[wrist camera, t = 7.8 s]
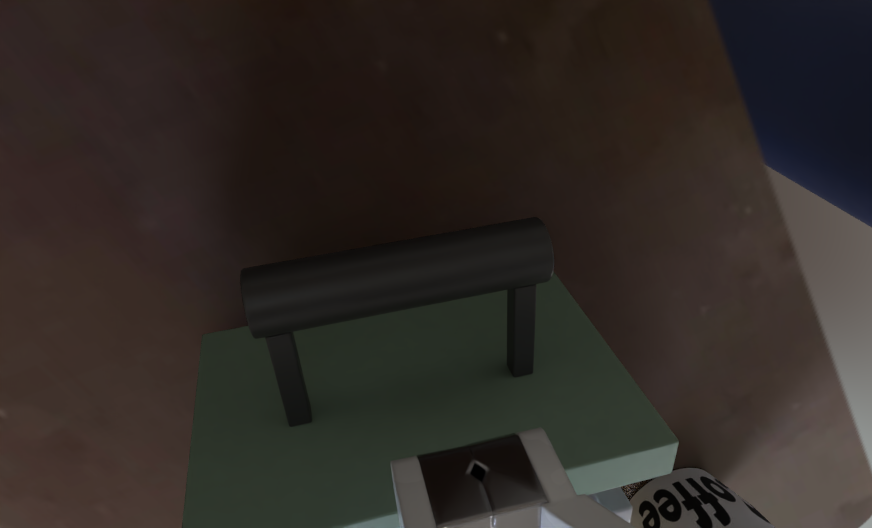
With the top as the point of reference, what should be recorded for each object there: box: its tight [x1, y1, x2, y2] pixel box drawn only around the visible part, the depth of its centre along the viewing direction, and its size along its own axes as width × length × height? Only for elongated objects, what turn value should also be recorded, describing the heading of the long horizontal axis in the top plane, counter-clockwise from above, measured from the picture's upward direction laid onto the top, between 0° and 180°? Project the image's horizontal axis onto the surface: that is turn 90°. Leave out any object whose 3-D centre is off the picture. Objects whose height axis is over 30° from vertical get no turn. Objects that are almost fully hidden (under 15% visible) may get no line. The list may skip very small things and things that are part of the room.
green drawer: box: [182, 217, 679, 528], centre depth 20 cm, size 19×12×8 cm, turn 3°
